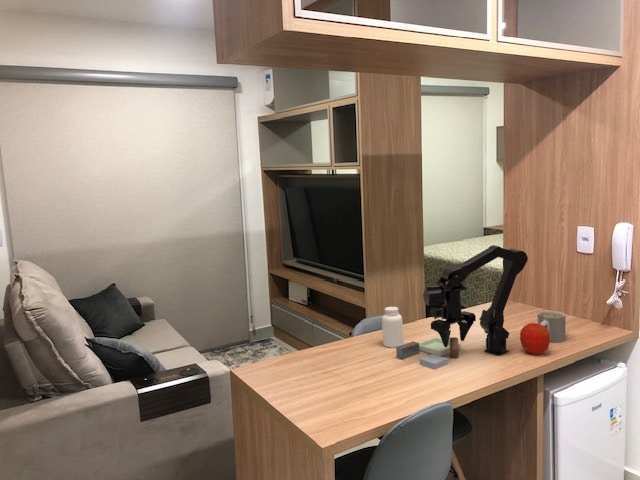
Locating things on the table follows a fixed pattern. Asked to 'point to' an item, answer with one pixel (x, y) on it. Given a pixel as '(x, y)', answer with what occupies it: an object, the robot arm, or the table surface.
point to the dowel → (453, 347)
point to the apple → (535, 338)
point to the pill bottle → (392, 328)
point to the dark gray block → (407, 350)
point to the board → (433, 361)
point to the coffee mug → (553, 324)
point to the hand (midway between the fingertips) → (454, 343)
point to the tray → (435, 347)
